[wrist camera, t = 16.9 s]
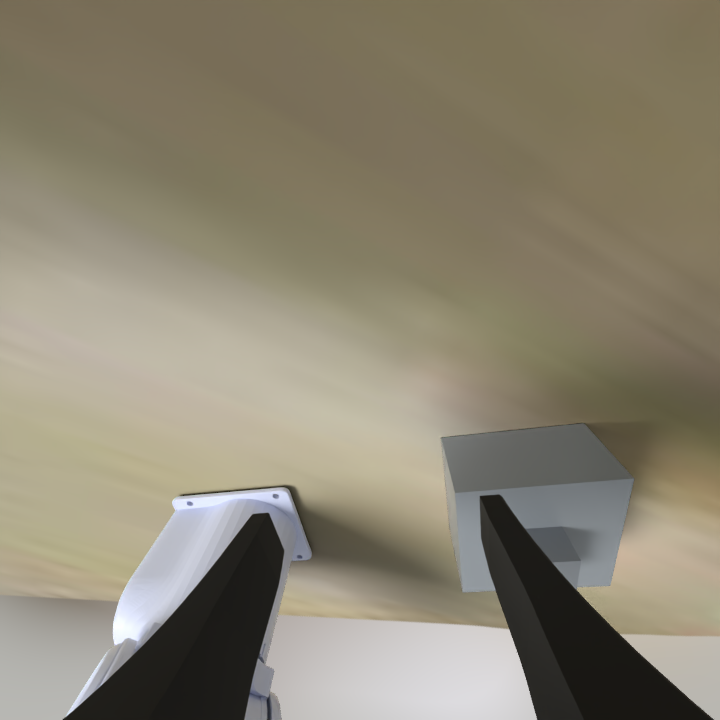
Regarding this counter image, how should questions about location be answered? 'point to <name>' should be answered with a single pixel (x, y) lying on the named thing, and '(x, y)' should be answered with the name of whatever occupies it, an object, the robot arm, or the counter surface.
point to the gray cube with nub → (539, 498)
